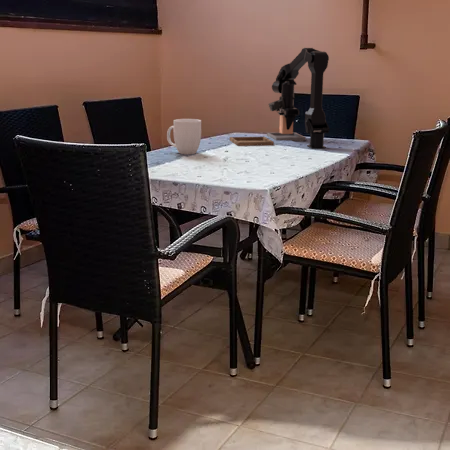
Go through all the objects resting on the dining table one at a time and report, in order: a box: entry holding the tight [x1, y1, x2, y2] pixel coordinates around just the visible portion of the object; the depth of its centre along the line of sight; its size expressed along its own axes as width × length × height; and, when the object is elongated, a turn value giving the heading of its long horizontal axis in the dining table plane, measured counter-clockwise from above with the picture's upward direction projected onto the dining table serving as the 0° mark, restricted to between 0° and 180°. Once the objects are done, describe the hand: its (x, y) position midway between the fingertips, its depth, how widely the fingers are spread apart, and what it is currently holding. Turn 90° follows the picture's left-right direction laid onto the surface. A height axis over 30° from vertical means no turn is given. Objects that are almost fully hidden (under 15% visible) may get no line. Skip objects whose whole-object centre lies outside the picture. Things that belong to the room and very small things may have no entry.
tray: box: [266, 131, 307, 142], centre depth 303 cm, size 16×14×2 cm
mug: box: [166, 118, 202, 155], centre depth 260 cm, size 15×11×13 cm
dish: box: [229, 136, 275, 147], centre depth 286 cm, size 16×16×2 cm
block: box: [278, 115, 294, 134], centre depth 301 cm, size 5×5×8 cm
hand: (286, 128), depth 302 cm, fingers closed on block, 5 cm apart
